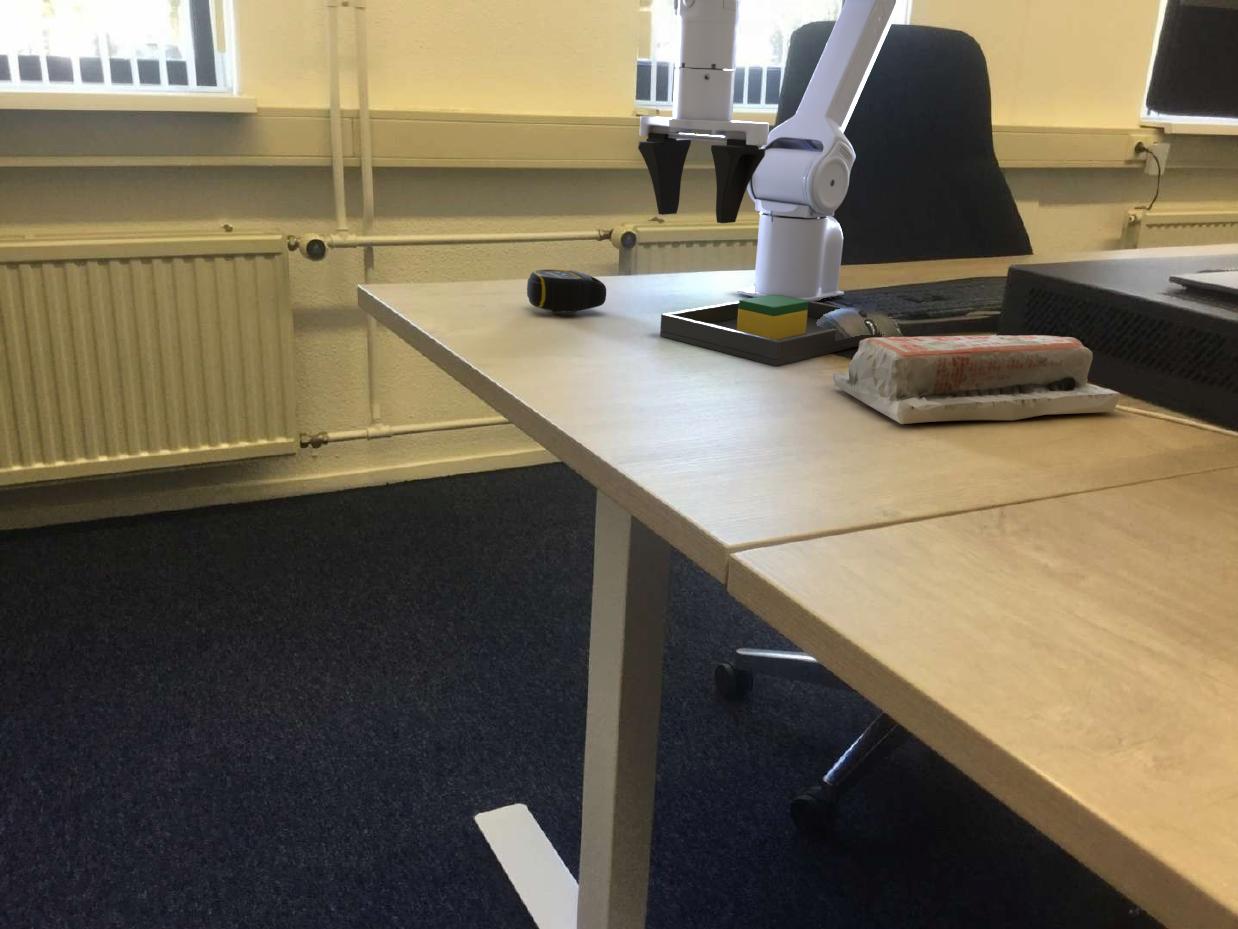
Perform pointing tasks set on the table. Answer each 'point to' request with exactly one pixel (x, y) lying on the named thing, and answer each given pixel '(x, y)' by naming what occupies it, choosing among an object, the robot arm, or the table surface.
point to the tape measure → (564, 290)
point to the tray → (720, 334)
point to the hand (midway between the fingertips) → (696, 218)
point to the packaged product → (974, 378)
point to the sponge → (772, 316)
